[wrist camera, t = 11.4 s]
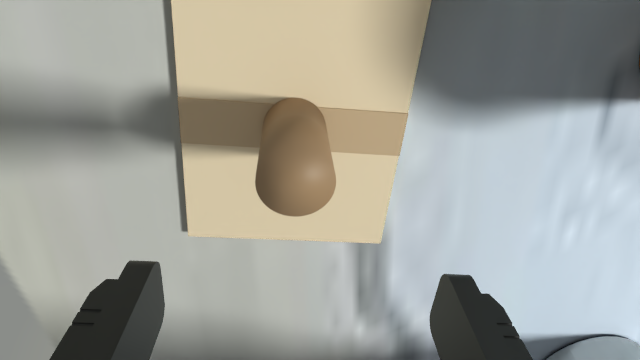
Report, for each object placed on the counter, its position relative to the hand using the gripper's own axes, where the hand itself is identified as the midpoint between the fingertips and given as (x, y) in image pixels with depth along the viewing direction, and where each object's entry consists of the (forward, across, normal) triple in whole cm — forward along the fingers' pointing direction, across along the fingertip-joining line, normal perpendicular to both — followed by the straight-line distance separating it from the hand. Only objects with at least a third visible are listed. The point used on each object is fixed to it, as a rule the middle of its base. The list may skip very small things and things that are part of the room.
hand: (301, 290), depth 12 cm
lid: (+12, 0, -1) cm, 12 cm away
